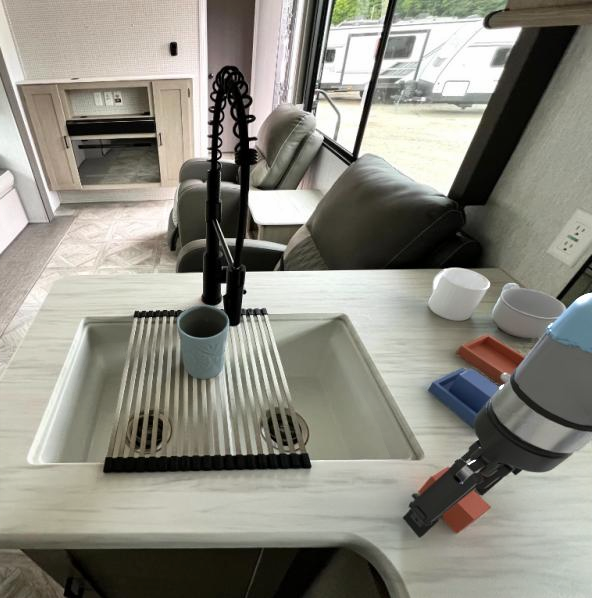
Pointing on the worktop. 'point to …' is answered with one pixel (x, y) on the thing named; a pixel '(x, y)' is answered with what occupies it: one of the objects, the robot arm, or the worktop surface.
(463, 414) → the tray blue
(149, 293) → the worktop surface
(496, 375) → the tray rust
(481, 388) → the blue rectangular block
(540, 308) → the teacup
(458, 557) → the worktop surface
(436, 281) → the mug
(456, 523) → the rust bar
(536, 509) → the worktop surface
